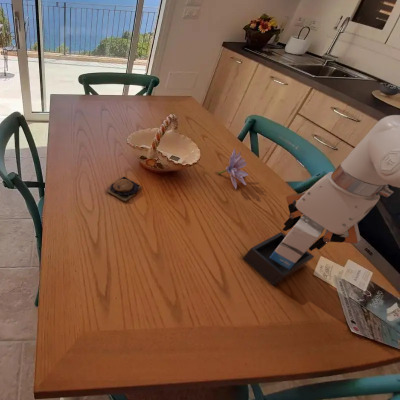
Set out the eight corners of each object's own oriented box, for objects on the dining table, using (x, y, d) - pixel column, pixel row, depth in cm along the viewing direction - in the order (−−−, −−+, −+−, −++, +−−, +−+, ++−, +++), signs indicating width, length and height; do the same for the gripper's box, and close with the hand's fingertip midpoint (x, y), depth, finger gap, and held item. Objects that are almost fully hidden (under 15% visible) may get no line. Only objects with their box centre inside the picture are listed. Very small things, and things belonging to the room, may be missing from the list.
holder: (303, 266, 72) (314, 256, 69) (273, 285, 67) (284, 276, 64) (272, 242, 78) (281, 231, 75) (242, 258, 73) (250, 248, 70)
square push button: (125, 203, 87) (127, 195, 84) (105, 191, 90) (106, 183, 88) (142, 188, 93) (145, 180, 90) (122, 177, 97) (124, 169, 94)
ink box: (288, 270, 65) (319, 239, 57) (267, 257, 68) (294, 225, 60) (301, 253, 69) (331, 222, 62) (280, 241, 72) (307, 210, 65)
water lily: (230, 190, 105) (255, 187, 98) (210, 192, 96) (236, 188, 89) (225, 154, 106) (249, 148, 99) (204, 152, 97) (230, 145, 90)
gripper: (420, 202, 48) (346, 259, 61) (321, 153, 59) (276, 210, 71) (401, 215, 45) (328, 272, 58) (302, 161, 56) (258, 219, 68)
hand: (299, 237), depth 64 cm, fingers closed on ink box, 5 cm apart
